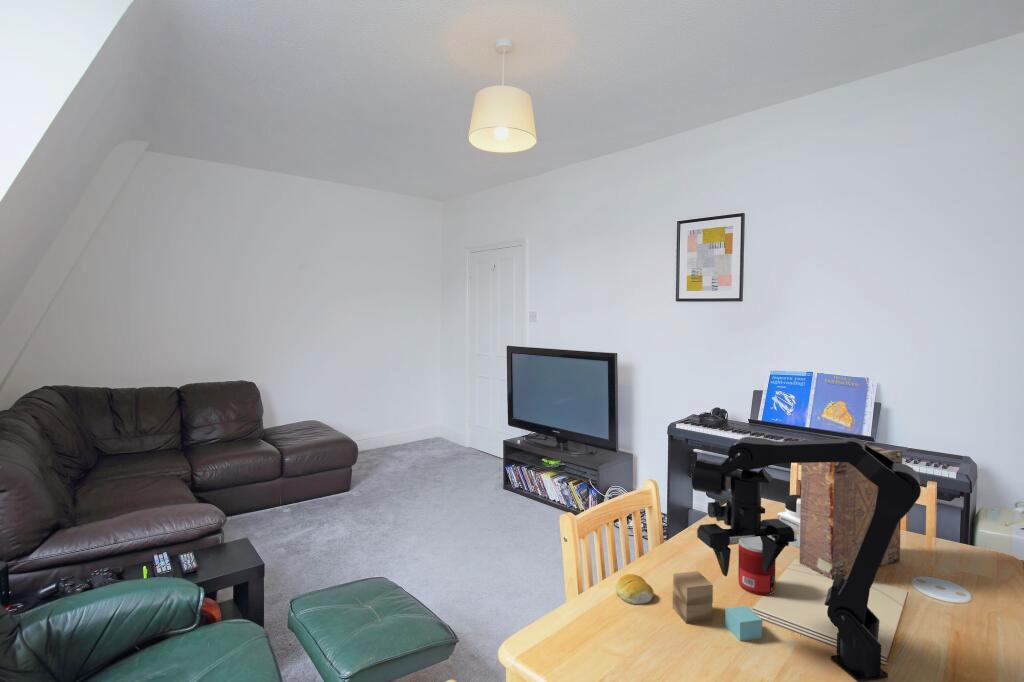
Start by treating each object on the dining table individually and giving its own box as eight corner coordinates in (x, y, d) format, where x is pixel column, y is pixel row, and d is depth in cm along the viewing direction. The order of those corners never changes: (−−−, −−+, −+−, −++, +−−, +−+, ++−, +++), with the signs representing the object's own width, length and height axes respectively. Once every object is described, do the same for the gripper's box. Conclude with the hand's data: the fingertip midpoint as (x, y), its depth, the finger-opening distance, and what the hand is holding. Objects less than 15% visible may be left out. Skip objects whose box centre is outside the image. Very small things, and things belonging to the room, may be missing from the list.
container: (776, 538, 150) (777, 494, 149) (794, 533, 153) (795, 490, 153) (801, 549, 143) (801, 503, 142) (819, 543, 146) (820, 499, 146)
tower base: (712, 621, 110) (712, 603, 110) (686, 624, 109) (686, 606, 109) (697, 605, 116) (697, 588, 116) (672, 608, 115) (672, 591, 115)
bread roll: (640, 583, 126) (640, 567, 126) (658, 602, 117) (658, 585, 117) (609, 587, 124) (609, 571, 124) (625, 607, 116) (625, 590, 115)
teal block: (761, 638, 104) (762, 619, 104) (739, 641, 103) (740, 622, 103) (746, 624, 109) (746, 605, 109) (725, 626, 108) (725, 608, 108)
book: (865, 547, 144) (868, 441, 142) (900, 561, 135) (903, 450, 134) (799, 563, 135) (801, 451, 133) (831, 580, 126) (834, 460, 125)
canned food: (779, 597, 119) (780, 551, 118) (742, 594, 120) (743, 548, 120) (769, 580, 126) (770, 537, 126) (735, 577, 128) (735, 534, 127)
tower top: (712, 602, 110) (712, 584, 110) (686, 605, 109) (687, 587, 109) (697, 588, 116) (698, 571, 116) (673, 591, 115) (673, 573, 115)
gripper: (761, 484, 115) (761, 552, 116) (684, 489, 112) (684, 559, 113) (796, 501, 104) (795, 576, 105) (712, 508, 101) (711, 585, 102)
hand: (745, 573), depth 106 cm, fingers open, 9 cm apart
